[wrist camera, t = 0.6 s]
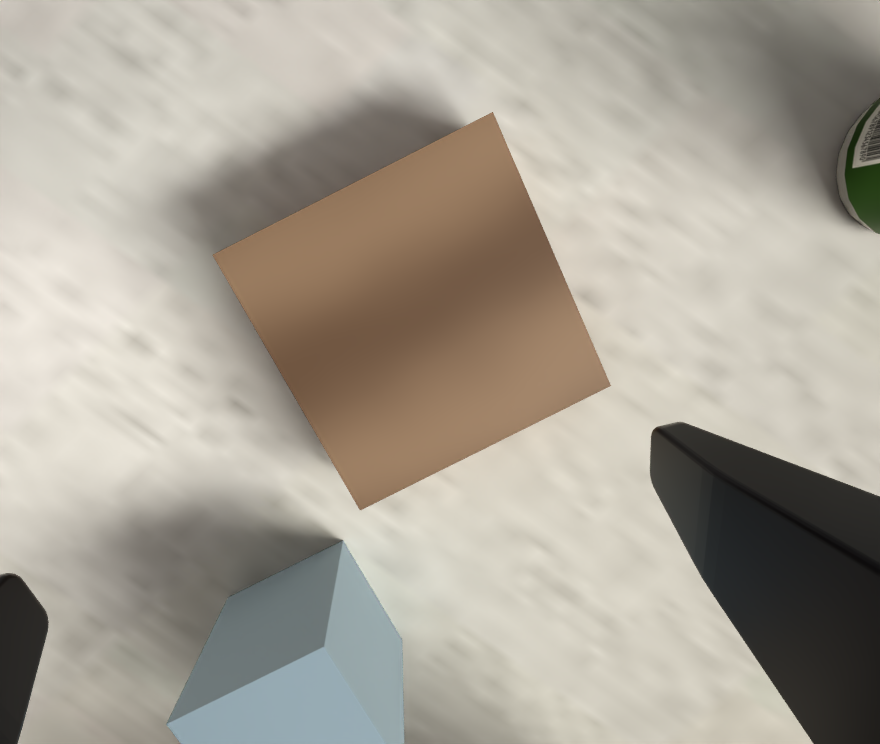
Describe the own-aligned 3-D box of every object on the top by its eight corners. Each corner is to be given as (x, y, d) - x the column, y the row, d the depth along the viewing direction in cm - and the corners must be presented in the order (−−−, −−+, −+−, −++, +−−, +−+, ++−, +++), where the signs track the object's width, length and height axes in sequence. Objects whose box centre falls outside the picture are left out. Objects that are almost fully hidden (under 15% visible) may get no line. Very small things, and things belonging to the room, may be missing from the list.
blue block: (402, 638, 22) (405, 773, 17) (292, 692, 23) (257, 845, 17) (343, 539, 21) (324, 646, 16) (228, 596, 21) (166, 724, 16)
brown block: (579, 367, 21) (610, 385, 18) (364, 474, 21) (360, 510, 18) (477, 134, 19) (492, 112, 16) (240, 255, 19) (212, 255, 16)
